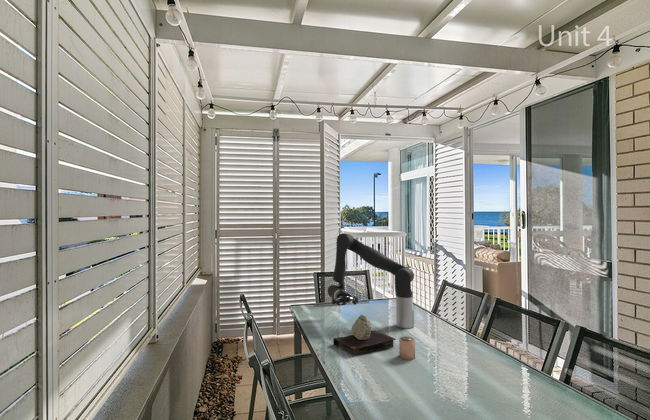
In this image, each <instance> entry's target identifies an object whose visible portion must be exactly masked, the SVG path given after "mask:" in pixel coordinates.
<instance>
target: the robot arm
mask: <svg viewBox="0 0 650 420" xmlns="http://www.w3.org/2000/svg"><path fill="white" fill-rule="evenodd" d="M335 246H336V248H335V249H336V250H335V251H336V253H335V265H334V270H333V277H332V280H333V281H334V282H336V283H338V284H339V285H335V284H331V285H329V286H328V288H327V294H328V296H329V297H330V298H331V304H332V305H337V306H339V307H340V306H345V305H347V304H350V305H352V304H353V305H354V306H355V305H356V304H359V297H357V296H356V295H354V296H353V297H352V296H350V295H349V293H348V292H346V290H345V277H346V272H347V271H346V270H347V264H346V262H347V261H346V255H347V250H349V251H351V252H353V253H355V254H356V255H358V256H359V257H360V258H361V259H362V260H363V261H365V262H366V263H367V264H369V265H370V266H372V267H374V268H377V269H379V270H382V271H384V272H385V271H386V272H388V273H390V274H391V275H393V276H394V290H395V295H396V296H395V299H396V300H395V302H396V305H395V306H396V307H395V309H396V310H395V311H396V312H395V313H396V315H395V317H396V319H395V326H396V327H397V328H399V329H412V328H415V311H414V309H413V308H414V307H413V303H414V302H413V301H414V300H413V296H414V295H413V293H414V292H413V291H412V285H411V284H412V281H414V278H415V273H414V271H413V270H412V269H411V268H409V267H408V266H406V265H402V264H401V263H398V262H396V261H395V260H393V259H392V258H390V257H388V256H387V255H385V254H384V253H382V252H380V251H378V250H377V249H375V248H373V247H371V246H368V245H367V244H364V243H362V242H361V241H359V239H356V238H355V237H354V236H353V235H351V234H349V233H343V232H342V233H340V234H338V235H337V238H336V245H335Z"/></svg>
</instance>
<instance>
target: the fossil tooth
mask: <svg viewBox="0 0 650 420" xmlns="http://www.w3.org/2000/svg"><path fill="white" fill-rule="evenodd" d="M370 322H371V321H370V320H369V319H368V317H367V316H366V315H365V314H360V315H359V316H358V317H357V318H356V320H355V321H354V323H353V324H352V326H351V330H350V335H354V336H355V337H356V338H357V339H359V340H365V339H369V338H370V334H371V331H372V323H370Z"/></svg>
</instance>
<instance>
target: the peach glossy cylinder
mask: <svg viewBox="0 0 650 420" xmlns="http://www.w3.org/2000/svg"><path fill="white" fill-rule="evenodd" d="M398 347H399V348H398V349H399V350H398V354H399V356H398V357H399V358H400V359H401V360H406V361H411V360H414V359H416V339H415V337H413V336H406V335H405V336H400V337H399V338H398Z"/></svg>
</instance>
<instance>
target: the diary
mask: <svg viewBox="0 0 650 420" xmlns="http://www.w3.org/2000/svg"><path fill="white" fill-rule="evenodd" d="M370 332H371V334H370V338H369V339H365V340H359V339H357V338H356V337H355V336H354V335H353V334H350V335H346V336H338V337H334V338H333V346H337V347H338V348H340V349H342V350H343V351H345V352H347V353H348V354H350V355H352V356H351V357H352V358H354V357H355V356H359V355H363V354H367V353H373V352H376V351H382V350H385V349H390V348H394V341H396V340H397V338H395V337H392V336H391V335H388V334H386V333H383V332H380V331H377V330H371V331H370Z"/></svg>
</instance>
